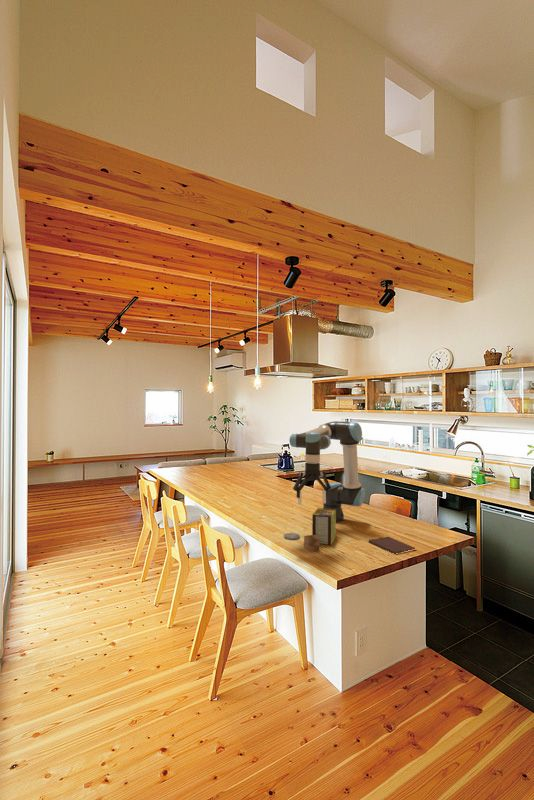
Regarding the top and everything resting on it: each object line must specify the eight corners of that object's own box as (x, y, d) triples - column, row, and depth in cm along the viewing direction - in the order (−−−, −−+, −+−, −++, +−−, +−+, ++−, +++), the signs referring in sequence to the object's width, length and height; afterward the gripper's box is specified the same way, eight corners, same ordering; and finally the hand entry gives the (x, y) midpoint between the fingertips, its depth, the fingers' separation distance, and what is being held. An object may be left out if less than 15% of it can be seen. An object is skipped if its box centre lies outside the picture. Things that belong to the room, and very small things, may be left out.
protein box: (335, 536, 224) (336, 509, 224) (331, 545, 209) (331, 516, 209) (317, 534, 227) (317, 507, 227) (311, 543, 213) (312, 514, 213)
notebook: (389, 539, 222) (389, 535, 222) (416, 551, 204) (416, 547, 204) (368, 543, 215) (368, 539, 215) (395, 556, 197) (395, 552, 197)
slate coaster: (296, 533, 227) (296, 532, 227) (302, 539, 218) (302, 537, 218) (281, 535, 225) (281, 533, 225) (286, 540, 216) (286, 539, 216)
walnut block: (314, 546, 208) (314, 534, 208) (319, 550, 202) (319, 538, 202) (304, 547, 206) (304, 535, 206) (308, 551, 201) (308, 539, 201)
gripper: (331, 460, 212) (330, 500, 212) (287, 461, 205) (286, 503, 205) (337, 462, 205) (337, 503, 204) (292, 464, 198) (291, 506, 197)
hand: (311, 503), depth 204 cm, fingers open, 13 cm apart
